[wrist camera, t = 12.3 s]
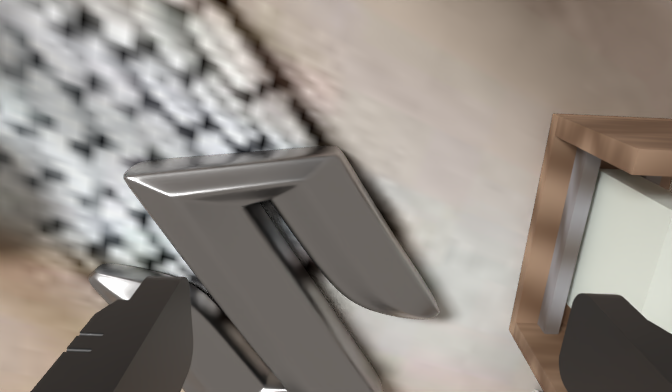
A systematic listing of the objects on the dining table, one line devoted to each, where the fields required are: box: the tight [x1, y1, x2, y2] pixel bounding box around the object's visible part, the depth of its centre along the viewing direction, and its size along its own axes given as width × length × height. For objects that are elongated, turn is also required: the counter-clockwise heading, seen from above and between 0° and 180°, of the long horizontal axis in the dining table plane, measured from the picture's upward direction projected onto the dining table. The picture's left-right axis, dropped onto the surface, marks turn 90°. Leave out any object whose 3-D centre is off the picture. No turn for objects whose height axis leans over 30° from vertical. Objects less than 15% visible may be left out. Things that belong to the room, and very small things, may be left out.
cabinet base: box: [509, 114, 672, 392], centre depth 35 cm, size 20×10×11 cm, turn 177°
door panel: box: [566, 169, 672, 334], centre depth 35 cm, size 12×3×9 cm, turn 177°
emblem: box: [89, 146, 440, 392], centre depth 40 cm, size 28×5×28 cm
